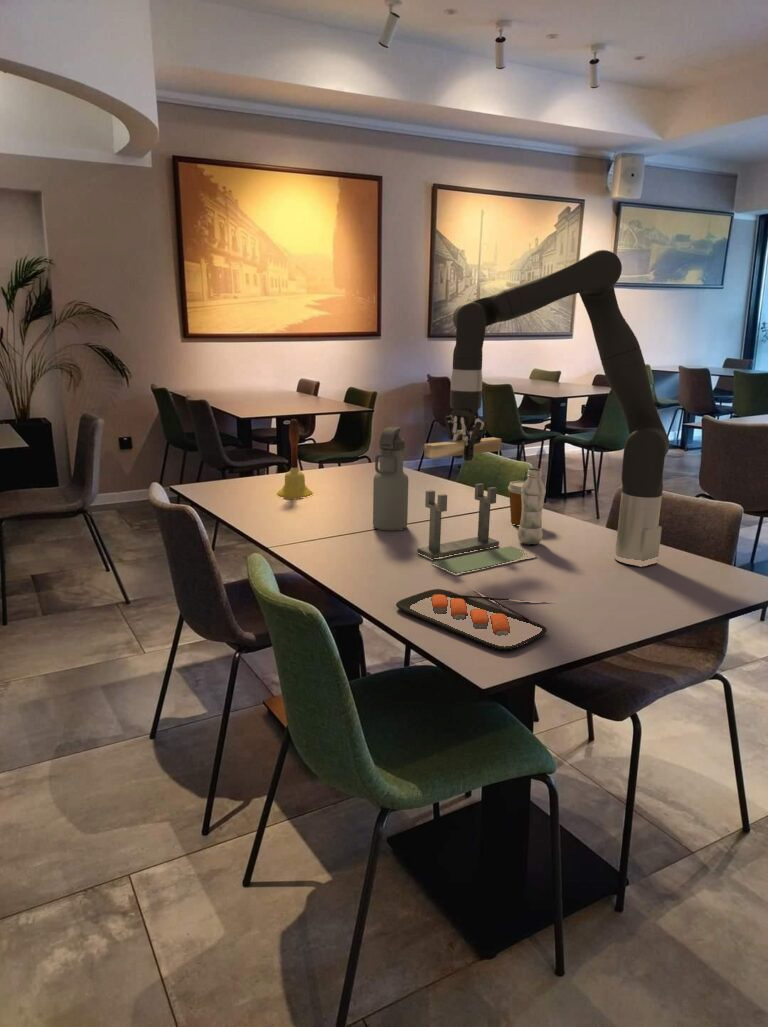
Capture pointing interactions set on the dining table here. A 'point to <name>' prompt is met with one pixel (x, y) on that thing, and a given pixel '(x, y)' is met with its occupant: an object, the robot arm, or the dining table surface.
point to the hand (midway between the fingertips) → (463, 458)
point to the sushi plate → (460, 612)
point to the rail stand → (462, 545)
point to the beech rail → (460, 448)
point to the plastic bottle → (532, 508)
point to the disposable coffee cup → (515, 501)
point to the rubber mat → (481, 559)
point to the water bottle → (390, 483)
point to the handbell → (294, 469)
